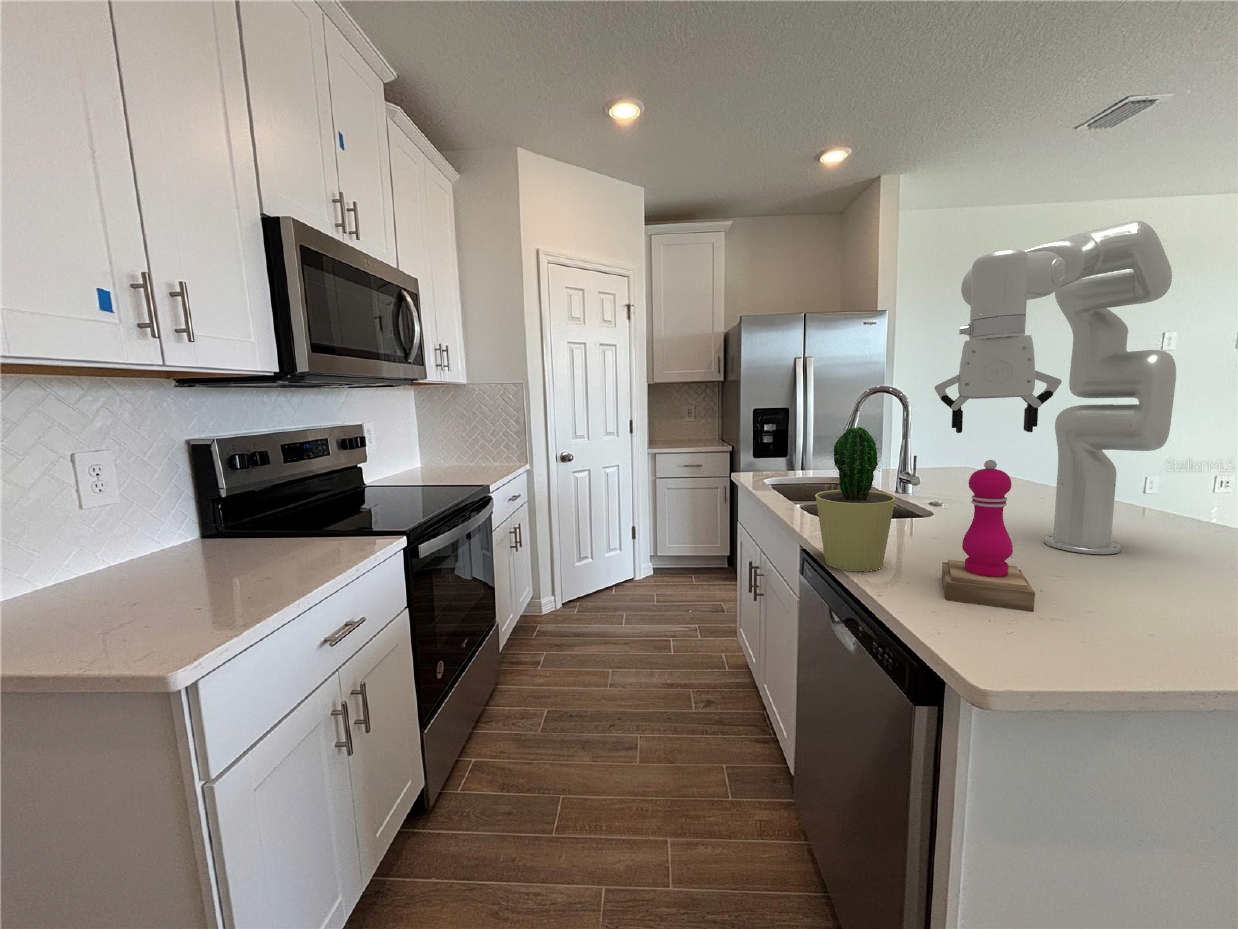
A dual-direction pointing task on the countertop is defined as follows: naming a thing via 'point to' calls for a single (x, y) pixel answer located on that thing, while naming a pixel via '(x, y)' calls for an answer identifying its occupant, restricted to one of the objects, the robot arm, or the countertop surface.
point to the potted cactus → (855, 507)
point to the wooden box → (987, 587)
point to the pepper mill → (988, 523)
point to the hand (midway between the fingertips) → (992, 431)
